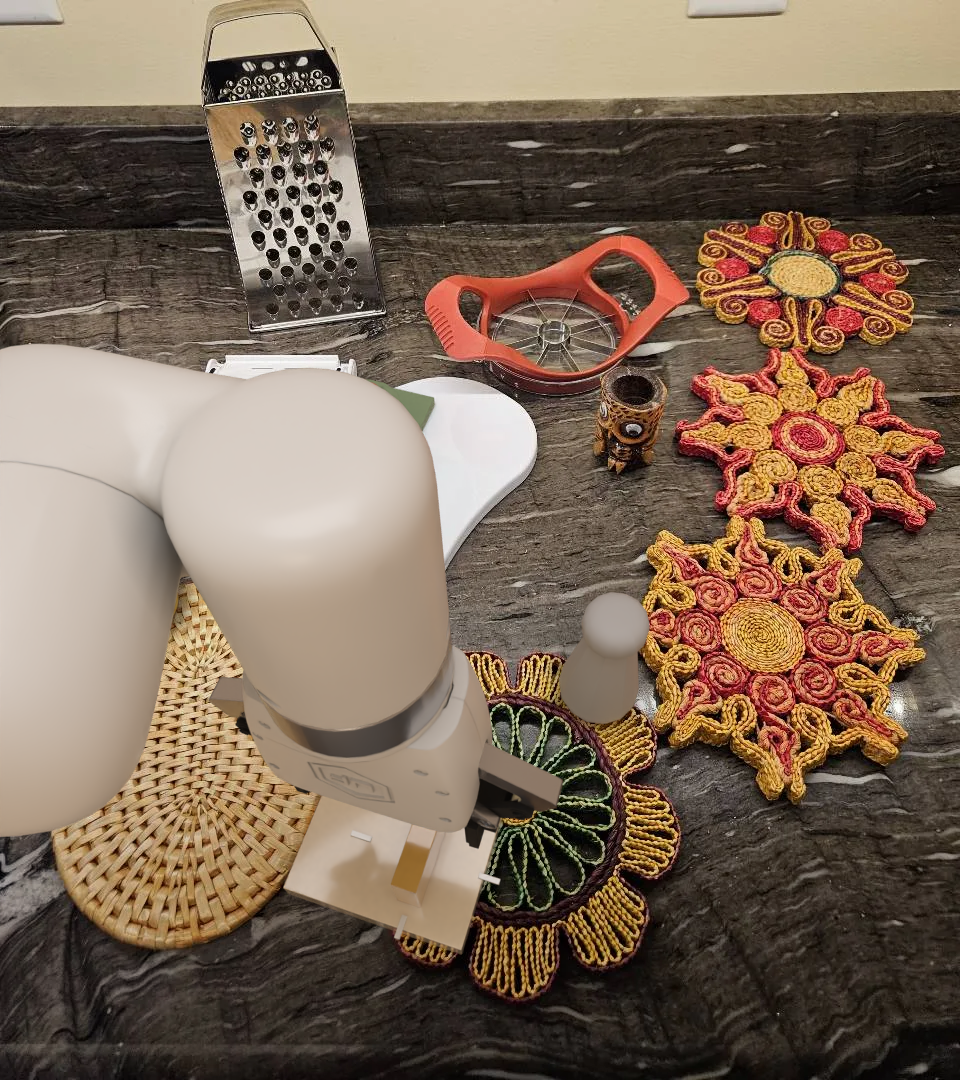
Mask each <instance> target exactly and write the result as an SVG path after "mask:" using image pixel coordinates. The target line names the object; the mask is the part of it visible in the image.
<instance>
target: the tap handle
mask: <svg viewBox="0 0 960 1080" xmlns="http://www.w3.org/2000/svg"><path fill="white" fill-rule="evenodd" d="M445 833H446V832H439V831H435V830H430V829H427V828H423V827H420V826H416V825H413V824H412V825H411V828H410V831H409V834H408V836H407V839H406V842H405V845H404V848H403V851H402V853H401V856H400V859H399V862H398V865H397V867H396V870H395V873H394V876H393V879H392V881H391V887H392V889H393V892H394V894H395V897H396V899H397V900H398V901H401V902H404V903H407V904H409V905H412V906H415V907H418V908H421V905H422V902H423V899H424V896H425V893H426V890H427V887H428V884H429V881H430V878H431V875H432V872H433V869H434V866H435V863H436V860H437V857H438V854H439V851H440V848H441V845H442V842H443V839H444V836H445Z"/></svg>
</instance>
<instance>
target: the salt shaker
mask: <svg viewBox="0 0 960 1080" xmlns="http://www.w3.org/2000/svg"><path fill="white" fill-rule="evenodd" d="M650 629H651V627H650V621H649V617H648V612H647V609H646V608H645V607H644V606H643V604H641V602H640V600H638V599H637V598H634V597H633V596H631V595H628V594H627V593H622V592H616V591H615V592H614V591H609V592H607V593H602V594H599V595H597V596H596V597H595V598H594V599H593V600H592V601H590V602H589V603H588V604H587V606H586V607H585V610H584V613H583V616H582V619H581V632H582V637H581V639H580V640H579V641H578V643H577V644H576V646H575V648H574V649H573V650H572V652H571V653H570V655H569V656H568V658H567V659H566V660H565V662H564V663H563V665H562V669H561V672H560V675H559V678H558V682H559V690H560V691H559V692H560V698H561V700H562V701H563V703H564V705H565V706H566V707H567V708H568V710H569V711H570V712H571V713H572V714H573V715H575V716H576V717H578V718H579V719H581V720H583V721H584V722H586V723H593V724H601V725H606V724H609V723H613V722H615V721H620V720H621V719H623V718H624V716H626V714H627V713H629V711H630V710H631V709H632V708H633V707H635V705H636V704H635V703H636V700H637V696H638V695H639V689H640V685H639V656H638V655H639V651H640V650H641V649H642V648H644V646H645V644H646V641H647V640H648V639H647V638H648V636H649V632H650Z"/></svg>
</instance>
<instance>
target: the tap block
mask: <svg viewBox="0 0 960 1080" xmlns="http://www.w3.org/2000/svg"><path fill="white" fill-rule="evenodd" d="M503 819H504V818H501V819H500V822H499V826H498V829H497V831H496V833H494V832H490V831H487V830H484V833H483V837H482V840H481V843H480V846H479V849H477V848H473V847H470V846H469V843H466V837H465V828H463V829H461V830H459V831H456V832H452V833H447V832H446V833H445V836H444V839H443V842H442V845H441V848H440V851H439V854H438V857H437V860H436V863H435V866H434V869H433V872H432V875H431V878H430V881H429V884H428V887H427V890H426V893H425V896H424V899H423V902H422V905H421V908H418V907H415V906H412V905H409V904H407V903H404V902H401V901H398V900H397V899H396V897H395V894H394V892H393V889H392V887H391V881H392V879H393V876H394V873H395V870H396V867H397V865H398V862H399V859H400V856H401V853H402V851H403V848H404V845H405V842H406V839H407V836H408V834H409V831H410V828H411V825H412V824H410V823H406V822H403V821H400V820H397V819H393V818H390V817H387V816H384V815H381V814H377V813H374V812H371V811H368V810H365V809H362V808H359V807H355V806H352V805H349V804H346V803H343V802H340V801H337V800H334V799H331V798H328V797H325V796H322V795H320V799H319V801H318V803H317V806H316V808H315V810H314V813H313V815H312V817H311V820H310V822H309V824H308V827H307V829H306V832H305V834H304V837H303V839H302V842H301V844H300V846H299V849H298V851H297V853H296V856H295V858H294V860H293V863H292V865H291V867H290V869H289V872H288V875H287V877H286V879H285V881H284V884H283V890H284V891H285V892H286V893H287V894H288V895H290V896H293V897H296V898H299V899H301V900H305V901H307V902H309V903H310V902H311V903H313V904H316V905H319V906H322V907H325V908H327V909H330V910H334V911H336V912H339V913H342V914H345V915H347V916H350V917H353V918H356V919H359V920H362V921H364V922H367V923H370V924H372V925H376V926H379V927H382V928H384V929H387V930H391V931H393V932H395V934H394V936H393V939H395V940H398V941H400V940H401V937H402V935H404V936H407V937H409V938H414V939H416V940H419V941H421V942H425V943H428V944H430V945H433V946H435V947H439V948H442V949H445V950H447V951H451V952H453V953H456V954H459V955H462V954H463V953H464V949H465V947H466V943H467V940H468V936H469V933H470V929H471V925H472V923H473V919H474V915H475V911H476V909H477V905H478V902H479V899H480V895H481V892H482V889H483V885H484V882H488V883H491V884H494V885H496V886H497V885H498V886H500V884H501V878H498V877H496V876H492V875H490V874H487V872H488V869H489V865H490V862H491V859H492V856H493V852H494V849H495V845H496V842H497V838H498V836H499V833H500V828H501V826H502V822H503Z"/></svg>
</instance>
